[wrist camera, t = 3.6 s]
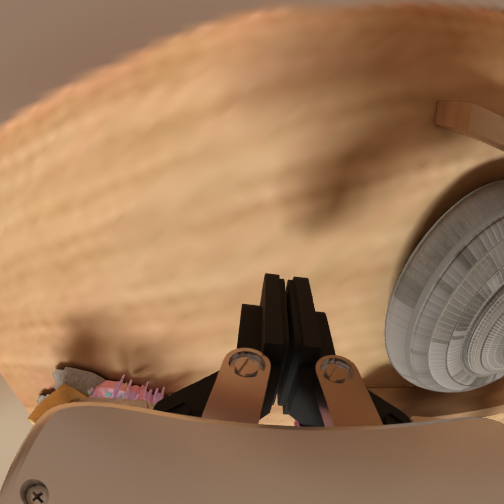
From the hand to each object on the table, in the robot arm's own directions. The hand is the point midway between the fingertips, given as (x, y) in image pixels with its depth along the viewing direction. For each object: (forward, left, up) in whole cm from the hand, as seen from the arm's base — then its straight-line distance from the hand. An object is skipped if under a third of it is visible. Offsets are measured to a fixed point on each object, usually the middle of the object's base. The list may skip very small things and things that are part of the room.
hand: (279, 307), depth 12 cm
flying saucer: (-13, 0, -4) cm, 14 cm away
